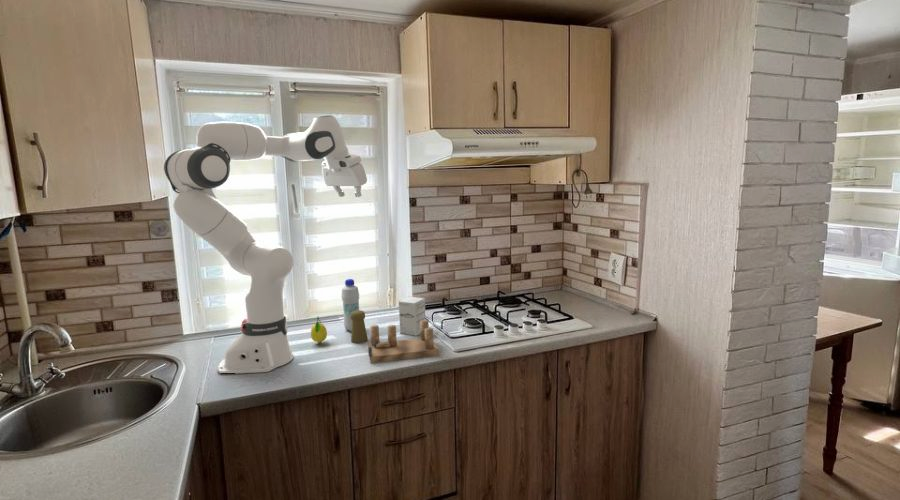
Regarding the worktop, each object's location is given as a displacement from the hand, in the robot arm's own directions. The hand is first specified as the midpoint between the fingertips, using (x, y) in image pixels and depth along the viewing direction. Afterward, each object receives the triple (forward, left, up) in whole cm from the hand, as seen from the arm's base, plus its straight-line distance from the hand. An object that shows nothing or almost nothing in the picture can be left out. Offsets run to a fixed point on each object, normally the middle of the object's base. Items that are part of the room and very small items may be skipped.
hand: (350, 196), depth 175 cm
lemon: (-15, -12, -51) cm, 55 cm away
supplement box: (+19, -11, -51) cm, 56 cm away
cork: (-1, -14, -51) cm, 53 cm away
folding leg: (+8, -28, -49) cm, 57 cm away
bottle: (-3, -1, -51) cm, 51 cm away
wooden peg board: (+13, -30, -51) cm, 60 cm away
